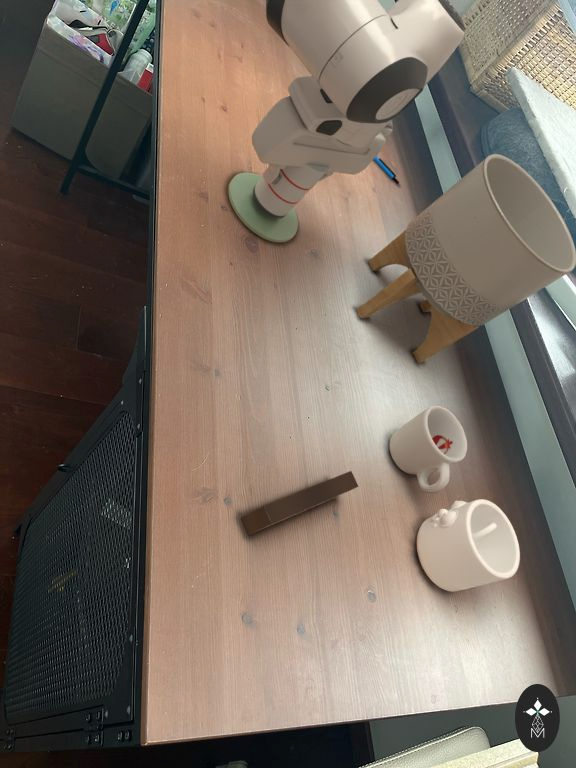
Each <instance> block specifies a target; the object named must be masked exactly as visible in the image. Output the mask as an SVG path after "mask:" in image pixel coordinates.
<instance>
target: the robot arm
mask: <svg viewBox="0 0 576 768" xmlns="http://www.w3.org/2000/svg"><path fill="white" fill-rule="evenodd" d="M265 17H266V21H267V24H268V26H270V28H271V29H272V30H274V32H275V33H276V34H277V36H278V37H280V39H281V40H282V41H283V42H284V43H285V44H286V45H287V46H288V47H289V48H290V49H291V50H292V52H293V53H294V54H295V55H296V57H297V58H298V59H299V61H300V62H301V63H302V65H303V66H304V67H305V69H306V70H307V71H308V73H309V74H310V75H309V76H308V75H307V76H297V77H295V78H294V79H293V80H292V81H291V82H290V84H289V85H288V88H287V91H288V94H289V95H288V96H285V97H283V98H281V99H279V100H278V101H277V102H275V104H274V105H273V106H272V107H271V108H270V109H269V111H268V112H267V113H266V114H265V115H264V116H263V118H262V119H261V120H260V122H259V123H258V125H257V127H255V128H254V130H253V132H252V134H251V145H252V148H253V150H254V152H255V154H256V156H257V158H258V160H259V162H261V163H262V164H268V166H267V168H265V170H264V172H263V173H262V177H263V178H264V181H265V183H266V184H274V185H275V184H277V182H278V181H279V180H280V179H281V178H282V177H281V175H280V173H279V172H280V169H284V168H285V167H286V166H291V167H299V168H301V167H303V166H304V165H305V164H312V165H319V166H326V167H329V170H328V171H327V172H326V173H325V174H324V175H323V177H322V178H321V179H320V180H319V181H318V182H319V183H320V182H321V181H324V180H325V179H327V178H329V177H332V175H333V174H334V173H338V174H346V175H355V176H356V175H358V174H360V173H361V172H363V171H364V170H366V168H367V167H368V166H369V165H370V164H371V163H372V162H373V161H374V160H373V159H374V158H375V157H376V156H377V157H378V155H379V154H380V153H381V152H382V150H383V148H384V146H385V145H386V141H387V140H386V139H387V138H388V137H389V136H390V135H391V134H392V133H393V128H394V125H393V120H394V119H395V118H397V117H398V116H399V115H400V114H401V113H403V112H404V111H405V109H407V108H408V106H409V105H411V104H412V103H413V102H414V101H415V99H417V97H418V96H419V95H420V94H421V93H422V92H423V91H424V89H425V87H426V86H427V85H428V84H429V82H430V81H432V79H433V78H434V77H435V75H436V74H437V73H438V72H439V71H440V70H441V69H442V67H443V66H444V65H445V64H446V62H447V61H448V60H449V59H450V57H451V56H452V54H453V53H454V52H455V51H456V49H457V48H458V46H459V45H460V43H461V42H462V40H463V38H464V37H465V34H466V31H465V24H464V21H463V19H462V17H461V15H460V14H459V13H458V11H457V10H456V9H455V8H454V6H453V5H452V3H451V2H450V1H449V0H397V1H396V2H394V4H393V5H392V6H391V7H390V8H389V9H388V10H386V9H385V8H384V7H383V5H382V4H381V3H380V2H379V0H265ZM318 182H317V183H316V184H315V185H314V186H313V187H312V188H311V189H313V188H314V187H315V186H316V185H317V184H318Z"/></svg>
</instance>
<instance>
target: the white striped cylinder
mask: <svg viewBox="0 0 576 768" xmlns="http://www.w3.org/2000/svg"><path fill="white" fill-rule="evenodd" d="M328 170H329V167H326V166H319V165H312V164H305V165H304V166H303V167H301V168H299V167H291V166H286V167H285V168H284V169H280V172H279V173H280V175H281V177H282V178H281V179H280V180H279V181H278V182H277V184H275V185H274V184H266V183H265V181H264V178H263V176H262V178H261V180H260V181H259V182H258V183H257V184H256V185H255V186H254V188H253V197H254V199H255V201H256V203H257V205H258V206H259V207H260V208H261V209H262V210H263V211H264V212H265V213H266V214H268V215H269V216H271V217H274V218H283V217H285V216H286V215H287V213H288V212H289V211H290V210H291V209H292V208H293V207H295V206H296V205H297V204H298V203H299V202H300V201H301V200H302V199H304V197H305V196H306V195H307V194H308V192H309V191H311V190H312V189H313V188H314V187H315V186H316V185H317V184H318V181H319V180H320V179H321V178H322V177H323V175H324V174H325V173H326V172H327V171H328ZM319 182H320V181H319ZM316 183H317V184H316ZM315 184H316V185H315ZM314 185H315V186H314ZM313 186H314V187H313ZM312 187H313V188H312Z"/></svg>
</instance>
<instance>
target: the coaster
mask: <svg viewBox="0 0 576 768" xmlns="http://www.w3.org/2000/svg"><path fill="white" fill-rule="evenodd" d="M262 177H263V175H260V174H257V173H254V172H249V171H248V172H246V171H244V172H240V173H237V174H236V175H234V176H233V177H232V179H231V180H230V182H229V184H228V189H227V190H228V191H227V193H228V194H227V195H228V199H229V202H230V205H231V207H232V209H233V211H234V213H235V215H236V216H237V217H238V219H239V220H240V221H241V222H242V223H243V224H244V226H246V228H248V230H250V231H251V232H252V233H254V234H256V235H257V236H259V237H260V238H262V239H264V240H266V241H268V242H273V243H286V242H288V241H291V239H293V238H294V237H295V235H296V234H297V231H298V227H299V220H298V215H297V212H296V210H295V208H294V207H295V206H294V207H293V208H292V209H291V210H290V211H289V212H288V213H287V215H286V216H285V217H283V218H274V217H271V216H269V215H268V214H266V213H265V212H264V211H263V210H262V209H261V208H260V207H259V206H258V205H257V203H256V201H255V199H254V197H253V188H254V186H255V185H256V184H257V183H258V182H259V181H260V180H261V178H262Z"/></svg>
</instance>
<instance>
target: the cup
mask: <svg viewBox="0 0 576 768" xmlns="http://www.w3.org/2000/svg"><path fill="white" fill-rule="evenodd" d="M389 451H390V456H391V458H392V460H393V462H394V463H395V465H396V466H397V467H398V468H399V469H400V470H402V471H403V473H406V474H410V475H416V478H417V483H418V486H419V487H420V489H421V490H422V491H425V492H427V493H435V492H436V493H437V492H440V491H441V490H443V489H445V488H446V487H447V485H448V484H449V481H450V477H451V476H450V475H451V472H450V469H451V468H450V467H451V465H454V464H458V463H460V462H461V461H463V460H464V458H465V457H466V455H467V452H468V440H467V436H466V433H465V430H464V428H463V426H462V424H461V422H460V421H459V419H458V418H457V417H456V416H455V414H453V412H451V411H450V410H449V409H448V408H446V407H444V406H442V405H431V406H428V407H427V408H426V409H424V410H423V411H421V412H420V413H418V414H417V415H416V416H414V417H413V418H411V419H410V420H409V421H407V422H406V423H404V424H403V425H401V426H400V427H399V428H397V429H396V430H395V431H394V432H393V433H392V435H391V437H390V439H389ZM436 471H437V472H438V474H439V477H438V479H437V481H436V482H435V483H433V484H431V485H430V484H429V483H428V478H429V475H430V474H432V473H434V472H436Z"/></svg>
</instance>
